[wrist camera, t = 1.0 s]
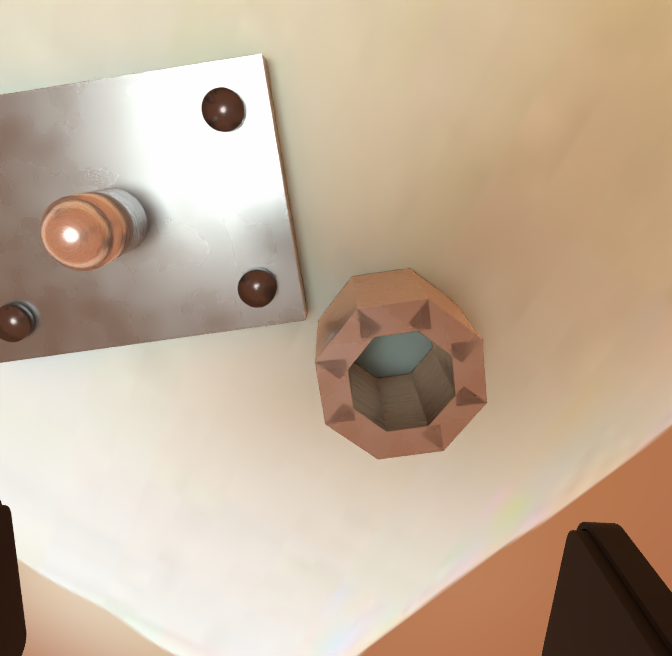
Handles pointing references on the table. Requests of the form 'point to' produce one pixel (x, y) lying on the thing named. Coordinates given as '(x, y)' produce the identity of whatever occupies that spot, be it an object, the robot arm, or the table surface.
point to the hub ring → (402, 390)
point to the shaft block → (143, 210)
